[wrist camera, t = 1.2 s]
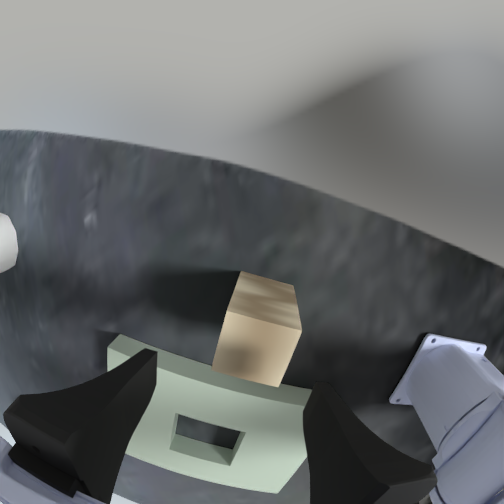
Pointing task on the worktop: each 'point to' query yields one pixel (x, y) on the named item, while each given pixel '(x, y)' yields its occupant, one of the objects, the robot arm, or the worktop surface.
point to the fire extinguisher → (7, 243)
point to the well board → (217, 422)
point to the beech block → (258, 331)
